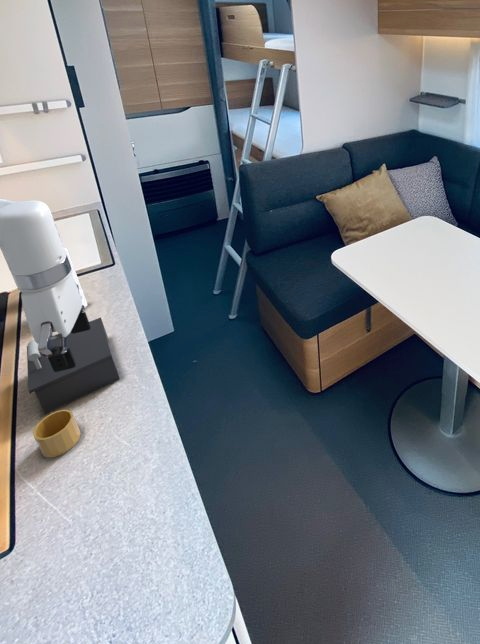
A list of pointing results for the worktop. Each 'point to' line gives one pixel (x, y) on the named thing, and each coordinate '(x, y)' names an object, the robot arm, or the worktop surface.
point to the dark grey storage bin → (78, 384)
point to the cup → (57, 433)
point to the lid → (84, 349)
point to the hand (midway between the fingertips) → (74, 348)
